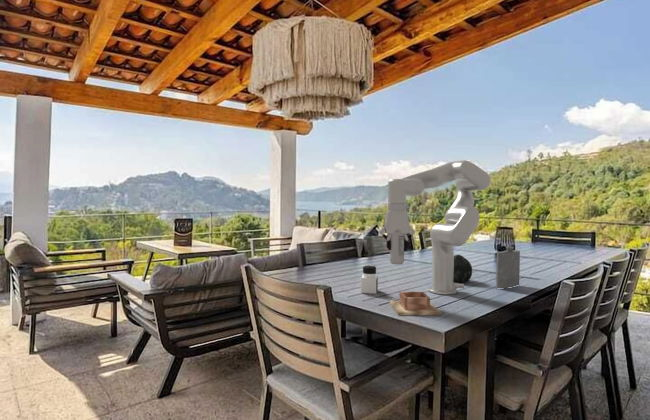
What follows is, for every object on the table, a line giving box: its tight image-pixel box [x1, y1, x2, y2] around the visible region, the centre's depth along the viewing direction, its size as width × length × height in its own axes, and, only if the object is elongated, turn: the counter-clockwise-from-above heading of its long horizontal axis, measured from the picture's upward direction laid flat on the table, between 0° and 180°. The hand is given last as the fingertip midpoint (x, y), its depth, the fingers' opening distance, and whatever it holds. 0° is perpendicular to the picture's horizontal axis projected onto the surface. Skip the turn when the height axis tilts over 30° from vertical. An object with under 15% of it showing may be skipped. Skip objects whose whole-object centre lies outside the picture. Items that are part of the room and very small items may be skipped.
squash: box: [453, 254, 473, 284], centre depth 198 cm, size 14×15×15 cm
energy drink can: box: [389, 229, 405, 266], centre depth 163 cm, size 6×6×15 cm
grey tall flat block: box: [495, 245, 521, 288], centre depth 184 cm, size 16×4×20 cm, turn 121°
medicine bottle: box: [360, 264, 379, 295], centre depth 175 cm, size 7×7×12 cm
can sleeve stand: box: [389, 291, 442, 316], centre depth 148 cm, size 16×16×6 cm
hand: (396, 249), depth 163 cm, fingers closed on energy drink can, 6 cm apart
